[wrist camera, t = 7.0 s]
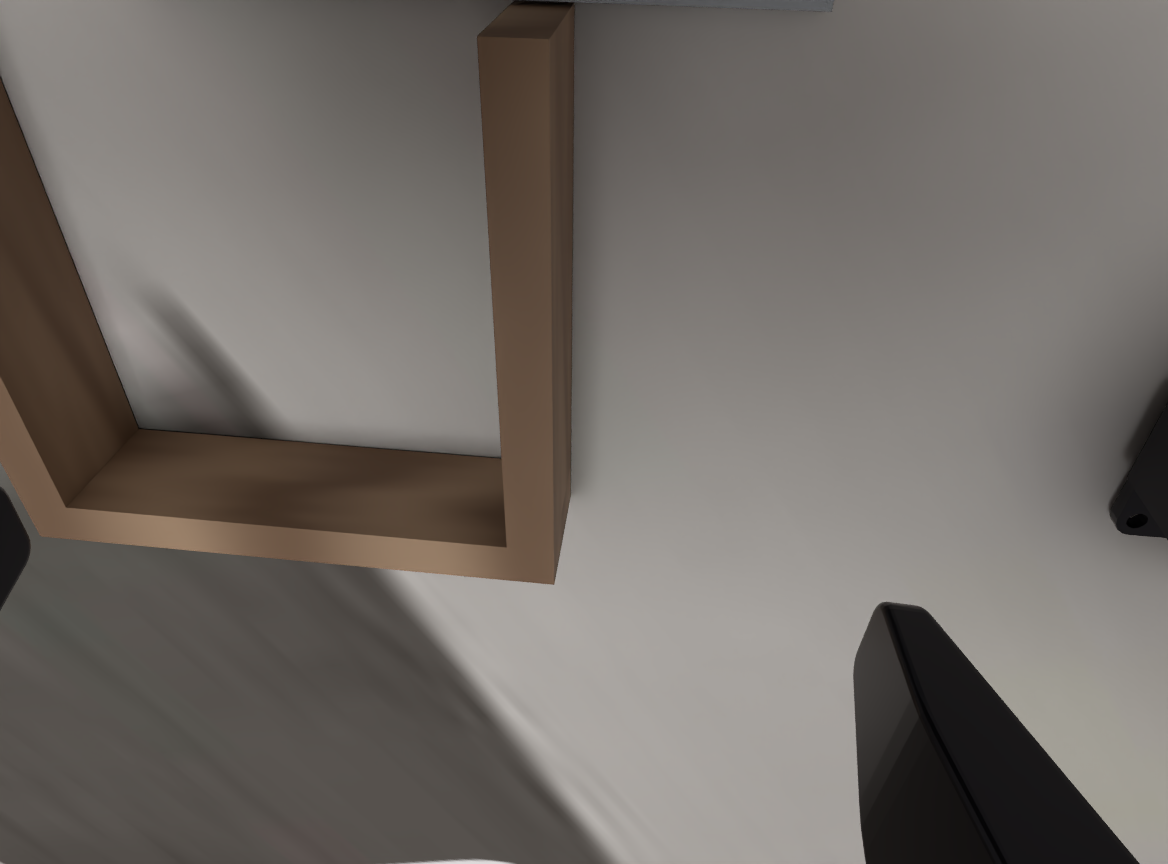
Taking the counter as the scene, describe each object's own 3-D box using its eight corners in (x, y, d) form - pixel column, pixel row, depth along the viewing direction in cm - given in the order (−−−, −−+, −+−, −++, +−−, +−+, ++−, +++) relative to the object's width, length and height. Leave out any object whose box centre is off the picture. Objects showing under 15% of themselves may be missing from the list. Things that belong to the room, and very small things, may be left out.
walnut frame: (574, 2, 16) (549, 39, 13) (570, 496, 24) (554, 584, 21) (-92, -23, 17) (-246, 6, 14) (113, 457, 25) (40, 536, 22)
